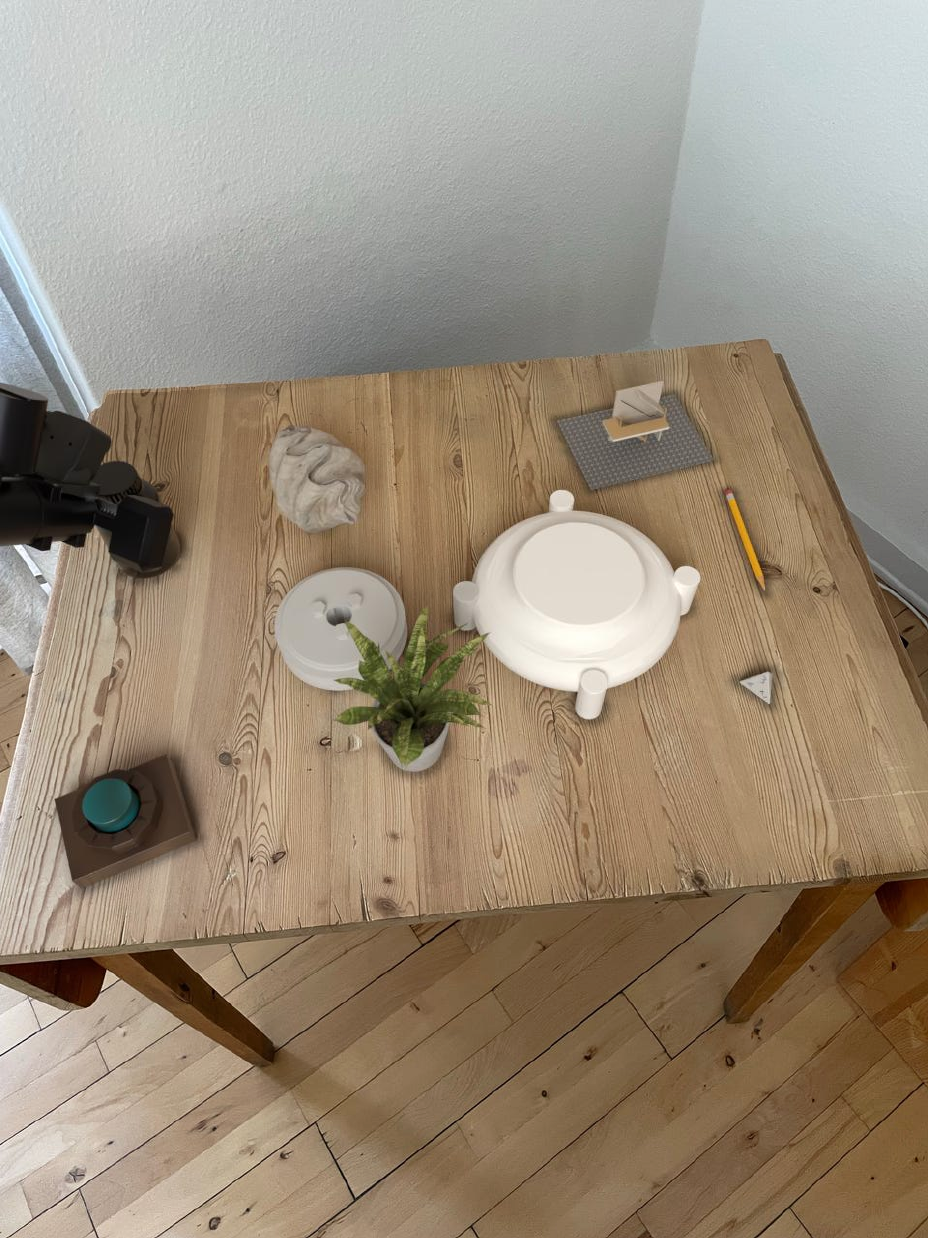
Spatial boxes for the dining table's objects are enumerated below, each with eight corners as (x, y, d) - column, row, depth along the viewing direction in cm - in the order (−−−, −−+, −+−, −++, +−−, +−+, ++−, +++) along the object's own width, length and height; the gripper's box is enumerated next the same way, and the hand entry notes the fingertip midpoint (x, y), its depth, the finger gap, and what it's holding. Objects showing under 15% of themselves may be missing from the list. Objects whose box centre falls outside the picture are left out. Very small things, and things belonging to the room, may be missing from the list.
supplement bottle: (185, 573, 92) (149, 497, 82) (119, 587, 91) (75, 512, 81) (179, 524, 96) (144, 446, 85) (115, 538, 95) (73, 460, 85)
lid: (273, 602, 90) (263, 573, 85) (393, 576, 91) (389, 547, 87) (291, 708, 83) (280, 683, 79) (420, 678, 84) (417, 652, 80)
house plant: (510, 819, 77) (517, 740, 63) (354, 844, 76) (326, 769, 62) (484, 679, 84) (484, 581, 71) (341, 699, 83) (314, 604, 70)
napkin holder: (665, 449, 100) (677, 401, 94) (608, 462, 99) (617, 414, 93) (653, 429, 102) (664, 380, 96) (598, 441, 101) (605, 393, 95)
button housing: (82, 889, 74) (63, 875, 71) (64, 807, 78) (45, 791, 75) (196, 840, 76) (183, 824, 73) (173, 763, 80) (160, 745, 77)
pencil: (731, 493, 97) (732, 489, 96) (767, 592, 89) (769, 588, 89) (724, 494, 97) (725, 490, 96) (760, 593, 89) (762, 589, 89)
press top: (96, 840, 73) (87, 831, 71) (87, 798, 75) (77, 789, 73) (144, 820, 73) (135, 811, 72) (133, 779, 75) (125, 770, 74)
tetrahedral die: (742, 672, 85) (739, 655, 83) (772, 673, 84) (770, 656, 82) (739, 703, 84) (735, 686, 81) (769, 704, 82) (767, 688, 80)
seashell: (280, 567, 92) (260, 506, 84) (276, 463, 100) (257, 398, 92) (376, 555, 93) (366, 493, 84) (365, 453, 101) (354, 387, 92)
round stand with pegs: (446, 528, 94) (444, 484, 88) (666, 513, 95) (678, 468, 89) (462, 728, 81) (461, 692, 75) (716, 710, 82) (735, 673, 76)
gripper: (123, 451, 69) (233, 456, 84) (-54, 385, 74) (79, 401, 89) (97, 582, 72) (208, 565, 87) (-73, 510, 77) (59, 505, 91)
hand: (138, 505), depth 88 cm, fingers closed on supplement bottle, 7 cm apart
